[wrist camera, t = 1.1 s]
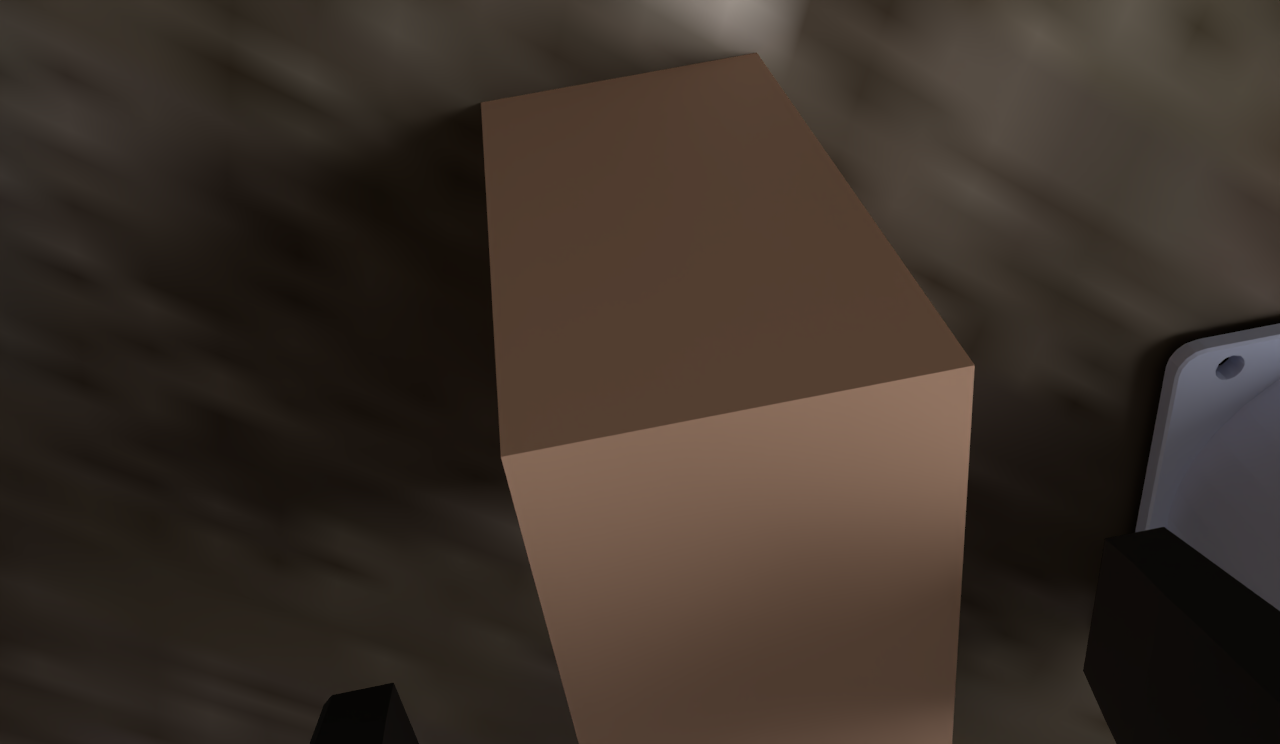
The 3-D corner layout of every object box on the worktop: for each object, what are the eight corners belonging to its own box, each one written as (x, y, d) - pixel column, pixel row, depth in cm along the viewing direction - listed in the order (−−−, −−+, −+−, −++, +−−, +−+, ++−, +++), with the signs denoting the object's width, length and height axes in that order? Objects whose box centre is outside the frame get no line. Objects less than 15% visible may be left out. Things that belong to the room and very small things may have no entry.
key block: (756, 52, 16) (973, 365, 9) (783, 429, 20) (946, 833, 13) (481, 102, 15) (500, 456, 9) (565, 472, 19) (621, 901, 13)
